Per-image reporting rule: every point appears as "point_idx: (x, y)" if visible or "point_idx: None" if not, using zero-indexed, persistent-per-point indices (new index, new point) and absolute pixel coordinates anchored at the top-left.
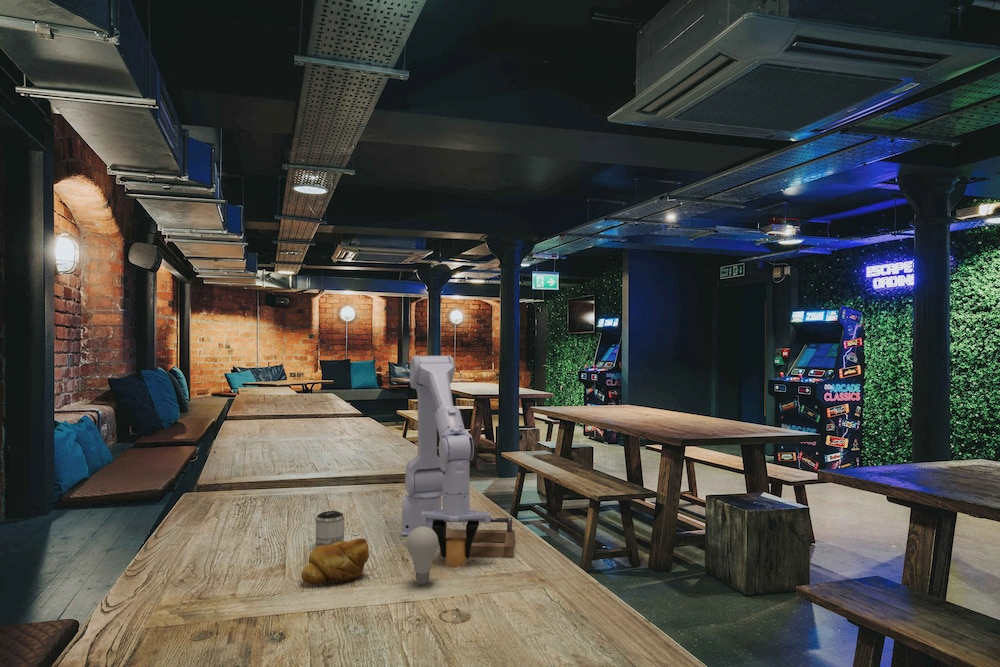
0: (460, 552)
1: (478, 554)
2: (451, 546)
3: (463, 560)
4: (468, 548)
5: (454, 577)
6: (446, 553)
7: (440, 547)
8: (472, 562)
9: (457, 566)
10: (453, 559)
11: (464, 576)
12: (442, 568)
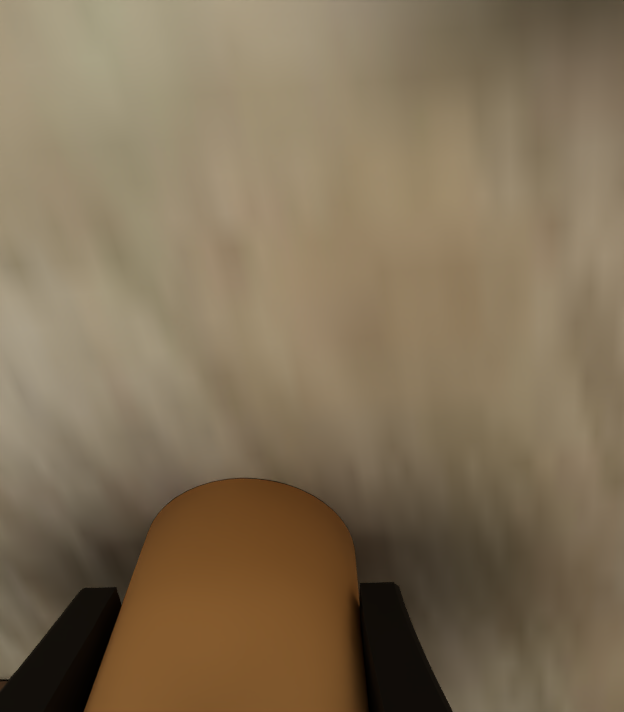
0: (141, 629)
1: None
2: (258, 709)
3: (142, 556)
4: (14, 696)
5: (160, 166)
6: (345, 626)
7: (440, 699)
8: (97, 587)
9: (211, 485)
10: (246, 540)
11: (38, 214)
12: (369, 438)
